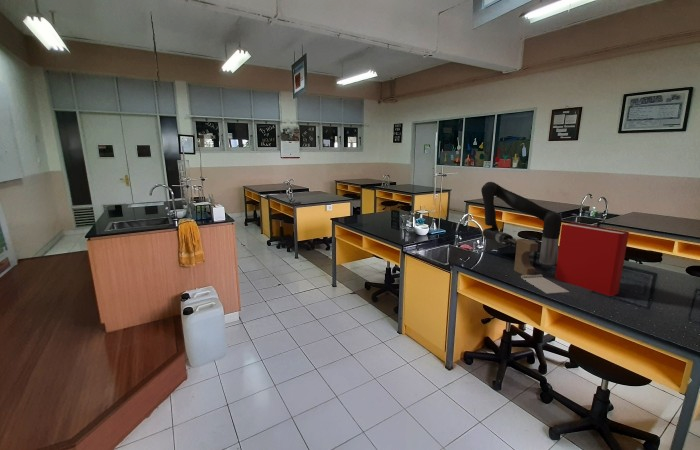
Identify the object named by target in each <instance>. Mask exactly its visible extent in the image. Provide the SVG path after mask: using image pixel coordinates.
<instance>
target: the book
mask: <svg viewBox="0 0 700 450" xmlns="http://www.w3.org/2000/svg"><path fill="white" fill-rule="evenodd" d="M629 236H630V232H629V231H628V230H622V229H614V228H609V227H602V226H601V227H600V226H596V225H589V224H583V223H576V222H569V224H564V223H561V230H560V236H559V243H558V249H559V250H558V258H557V264H556V265H555V266H556V267H555V274H554V275H555V276H554V280H557V279H558V280H557V281H559V282H563V283H566V284H569V285H574V286H576V287H580V288H582V289H586V290H590V291H591V292H592V291H593V292H596V293H598V294H603V295H606V296H609V297H610V296H611V297H615V296H616V295H618V294H619V293H620V285H621V282H622V281H621V280H622V275H623V268H624V263H625V257H626V251H627V246H628V241H629Z"/></svg>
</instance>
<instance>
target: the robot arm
mask: <svg viewBox="0 0 700 450" xmlns="http://www.w3.org/2000/svg"><path fill="white" fill-rule="evenodd" d="M480 191H481V196H482V200H483V208H484V224H485V225H486V226H490V227H488V228H485V229H483V231H482V235H483V237H484V238H485V239H487V240H491V241H496V242H497V243H499V244H501V245H503V246H505V247H516V245H517V239H516V238H514V237H513V236H512V234H509V233H507V232H504V231H500V229H499V227H498V223H497V213H496V209H495V204H494V203H495V202H494V201H495V200H494V199H495V197H496V198H498V199H501V200H502V201H503V202H504V203H506V205H508V206H509V207H510V208H512V209H514V210H515V211H517V212H520V213H523V214H526V215H529V216H533V217H535V218H537V219H539V220H540V221H542V222H543V228H542V233H541V234H542V236H541V245H540V252H539V263H540V264H543V265H546V266H556V265H557V258H558V250H559V242H560V235H561V227H562V221H563V220H562V216H561V215H560V213H558V212H557V211H553V210H551V209H548V208H546V207H543V206H540V205H539V204H537V203H535V202H534V201H533V200H530V199H528V198H527V197H523V196H522V195H519V194H517V193H515V192H513V191H510V190H508V189H506V188H504V187H503V186H501V185H499V184H498V183H496V182H493V181H488V182H486V183H484V184H483V185H482V186H481V190H480Z"/></svg>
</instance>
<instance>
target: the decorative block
mask: <svg viewBox="0 0 700 450" xmlns="http://www.w3.org/2000/svg"><path fill="white" fill-rule="evenodd" d="M516 240H517V245H516V246H515V258H514V266H513V267H514V268H513V271H514V272H516V273H517V274H520V275H536V268H535V267H534V266H533V265H532V264H531V262H530V255H531V254H532V253H534V252H538V249H539V243H538V242H536V241H532V240H530V239H526V238H519V239H516Z"/></svg>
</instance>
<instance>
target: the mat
mask: <svg viewBox="0 0 700 450" xmlns="http://www.w3.org/2000/svg"><path fill="white" fill-rule="evenodd" d="M520 278H521V279H522V280H524V281H525V280H526V281H525V282H527V283H529V284H530V285H532V286H533V285H534V287H535V288H537V289H538V290H540V291H542V292H544V293H545V294H547V295H552V294H569V293H570V291H569V290H567V289H566V288H564V287H563V286H560V285H558V284H556V283H554V282H552V281H551V280H549V279H547V278H546V277H543V274H542V273H540V274H539V273H538V274H535V275H522V274H520Z"/></svg>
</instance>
